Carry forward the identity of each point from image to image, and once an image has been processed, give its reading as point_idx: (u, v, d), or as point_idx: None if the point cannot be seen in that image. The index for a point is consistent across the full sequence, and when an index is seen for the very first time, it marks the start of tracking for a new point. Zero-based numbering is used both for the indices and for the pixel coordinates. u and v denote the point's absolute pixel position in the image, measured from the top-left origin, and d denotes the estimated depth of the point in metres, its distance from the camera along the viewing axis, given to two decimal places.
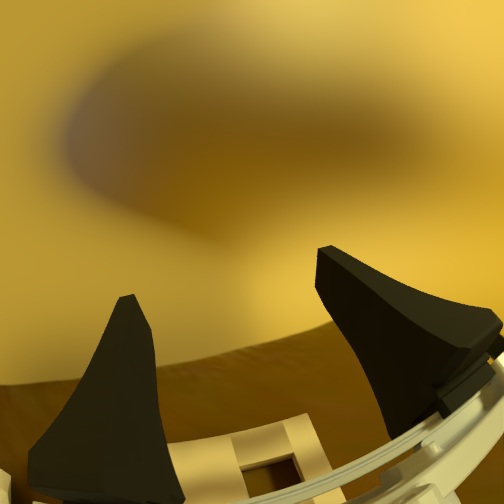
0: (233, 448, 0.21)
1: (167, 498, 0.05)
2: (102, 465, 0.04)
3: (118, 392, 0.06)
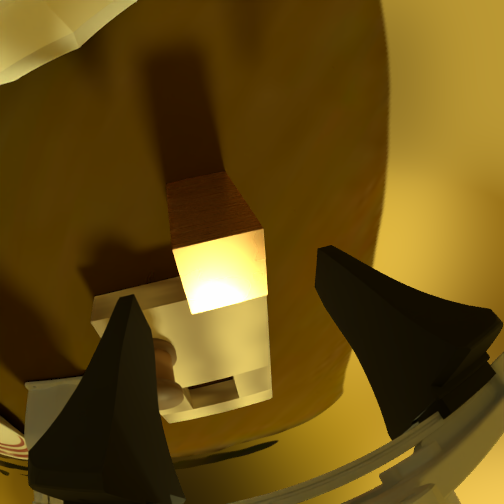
0: (253, 370, 0.25)
1: (167, 498, 0.05)
2: (102, 465, 0.04)
3: (118, 392, 0.06)
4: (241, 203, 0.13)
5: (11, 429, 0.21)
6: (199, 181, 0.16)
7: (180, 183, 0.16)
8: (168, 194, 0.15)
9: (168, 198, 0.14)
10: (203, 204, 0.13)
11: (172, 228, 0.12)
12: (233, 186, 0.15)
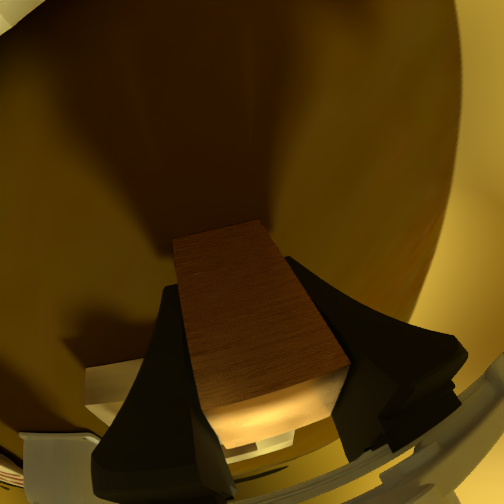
0: None
1: (229, 488, 0.06)
2: (193, 456, 0.04)
3: (187, 379, 0.06)
4: (302, 298, 0.08)
5: (9, 469, 0.17)
6: (222, 240, 0.11)
7: (193, 240, 0.11)
8: (177, 265, 0.10)
9: (178, 275, 0.09)
10: (238, 297, 0.08)
11: (193, 354, 0.07)
12: (280, 255, 0.10)
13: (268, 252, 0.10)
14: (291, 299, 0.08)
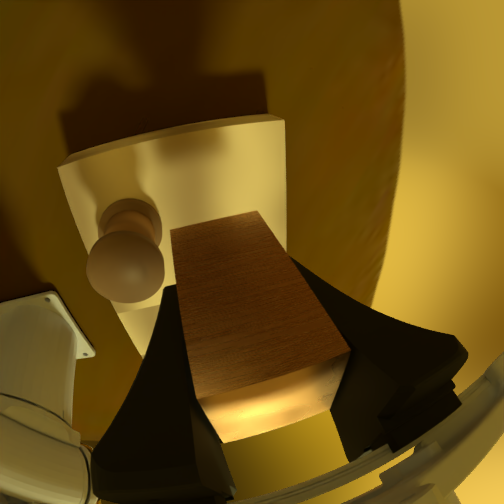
0: None
1: (229, 488, 0.06)
2: (192, 456, 0.04)
3: (187, 379, 0.06)
4: (300, 285, 0.08)
5: None
6: (221, 230, 0.10)
7: (191, 230, 0.11)
8: (175, 254, 0.09)
9: (175, 264, 0.09)
10: (236, 285, 0.08)
11: (189, 341, 0.07)
12: (278, 244, 0.09)
13: (266, 241, 0.10)
14: (289, 286, 0.08)
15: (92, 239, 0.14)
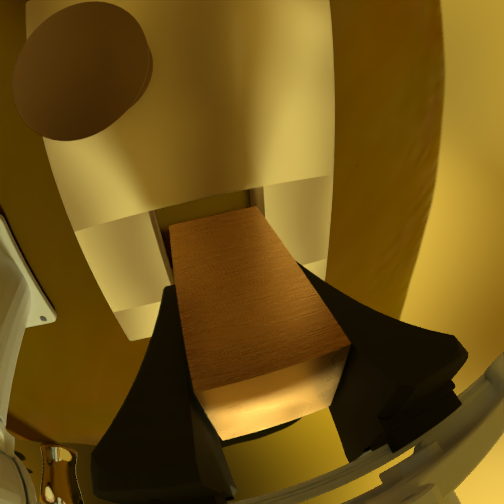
0: (303, 179, 0.13)
1: (229, 488, 0.06)
2: (193, 456, 0.04)
3: (187, 380, 0.06)
4: (299, 279, 0.08)
5: None
6: (220, 226, 0.10)
7: (190, 226, 0.11)
8: (173, 249, 0.09)
9: (174, 258, 0.09)
10: (235, 279, 0.08)
11: (187, 334, 0.07)
12: (277, 239, 0.09)
13: (265, 236, 0.10)
14: (288, 280, 0.08)
15: None
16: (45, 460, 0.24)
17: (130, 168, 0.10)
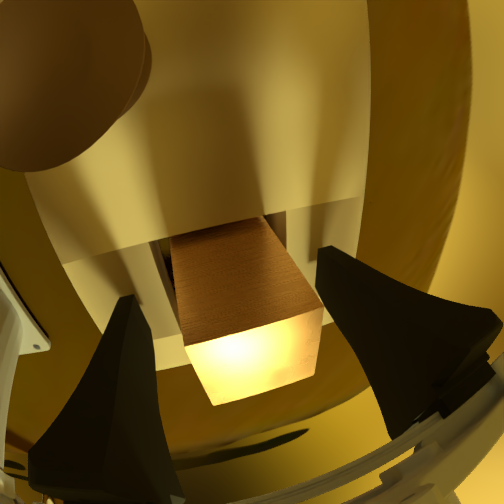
0: (331, 201, 0.11)
1: (167, 498, 0.05)
2: (102, 465, 0.04)
3: (118, 392, 0.06)
4: (281, 254, 0.09)
5: None
6: None
7: None
8: None
9: (171, 239, 0.10)
10: (223, 254, 0.09)
11: (180, 300, 0.08)
12: (263, 221, 0.10)
13: (253, 219, 0.11)
14: (271, 254, 0.09)
15: None
16: None
17: (125, 191, 0.08)
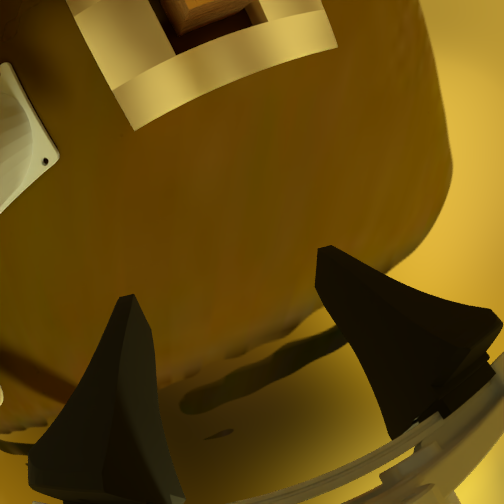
0: None
1: (167, 498, 0.05)
2: (102, 465, 0.04)
3: (118, 392, 0.06)
4: None
5: None
6: None
7: None
8: None
9: None
10: None
11: None
12: None
13: None
14: None
15: None
16: None
17: None
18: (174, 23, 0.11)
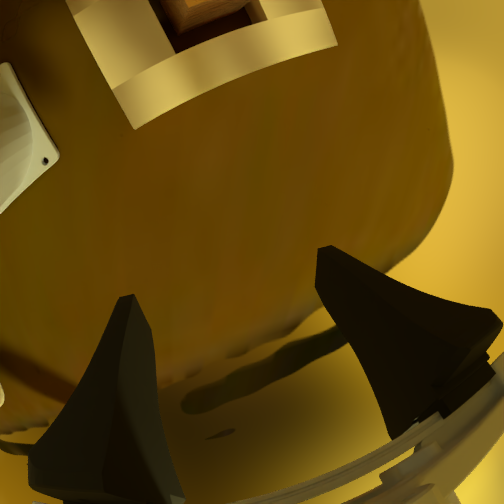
0: None
1: (167, 498, 0.05)
2: (102, 465, 0.04)
3: (118, 392, 0.06)
4: None
5: None
6: None
7: None
8: None
9: None
10: None
11: None
12: None
13: None
14: None
15: None
16: None
17: None
18: (174, 22, 0.11)
